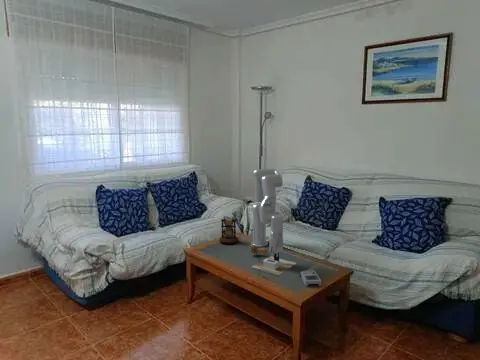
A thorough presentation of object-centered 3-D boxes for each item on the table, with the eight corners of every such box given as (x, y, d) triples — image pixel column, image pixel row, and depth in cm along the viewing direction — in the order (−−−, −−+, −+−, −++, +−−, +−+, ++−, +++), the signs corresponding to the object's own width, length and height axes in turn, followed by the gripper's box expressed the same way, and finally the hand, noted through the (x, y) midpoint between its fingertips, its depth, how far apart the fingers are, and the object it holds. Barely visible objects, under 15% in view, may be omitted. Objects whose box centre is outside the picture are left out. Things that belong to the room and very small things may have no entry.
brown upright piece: (239, 239, 272) (239, 214, 269) (237, 245, 258) (237, 219, 255) (220, 238, 274) (220, 214, 271) (217, 244, 259) (217, 219, 256)
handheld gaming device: (314, 275, 206) (314, 269, 205) (321, 286, 191) (321, 280, 190) (299, 276, 205) (300, 270, 205) (305, 287, 191) (305, 280, 190)
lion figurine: (248, 258, 231) (248, 246, 230) (249, 255, 237) (249, 243, 235) (270, 259, 230) (270, 246, 229) (270, 256, 236) (270, 243, 234)
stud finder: (267, 264, 218) (267, 258, 217) (278, 267, 213) (278, 260, 213) (263, 267, 214) (263, 260, 213) (274, 270, 209) (274, 263, 209)
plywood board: (270, 258, 232) (270, 256, 232) (296, 265, 220) (296, 263, 220) (251, 268, 215) (251, 266, 215) (279, 277, 203) (279, 274, 203)
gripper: (278, 230, 224) (277, 257, 227) (265, 236, 213) (265, 264, 216) (288, 232, 220) (287, 260, 223) (275, 238, 208) (275, 267, 211)
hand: (276, 262), depth 219 cm, fingers closed
